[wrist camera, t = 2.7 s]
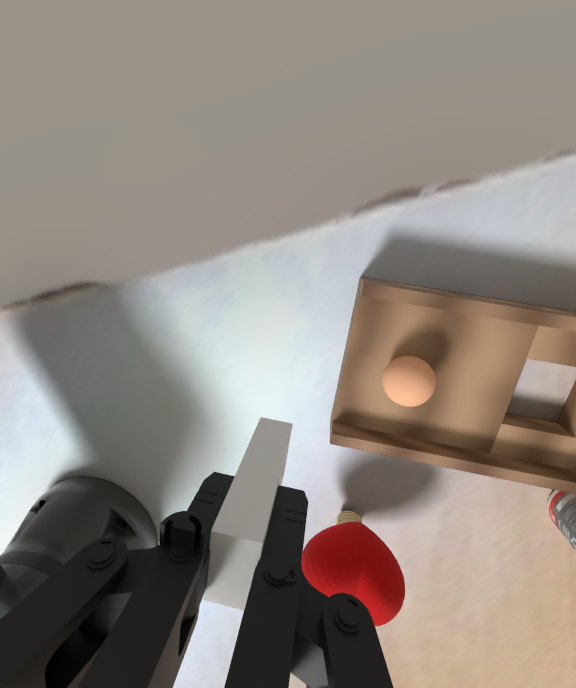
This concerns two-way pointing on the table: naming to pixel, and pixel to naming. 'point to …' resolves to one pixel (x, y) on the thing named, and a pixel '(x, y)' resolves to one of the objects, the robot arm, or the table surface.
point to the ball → (409, 381)
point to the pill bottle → (564, 514)
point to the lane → (456, 383)
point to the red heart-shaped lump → (355, 567)
